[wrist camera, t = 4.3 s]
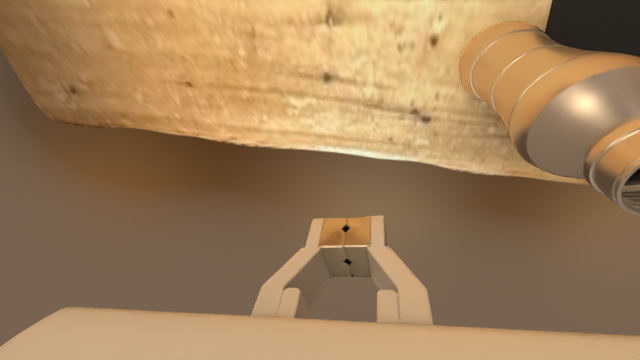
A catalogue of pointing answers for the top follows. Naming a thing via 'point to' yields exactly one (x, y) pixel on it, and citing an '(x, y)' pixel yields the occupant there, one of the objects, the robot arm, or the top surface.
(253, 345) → the robot arm
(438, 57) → the top surface
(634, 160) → the plastic bottle
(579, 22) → the mat
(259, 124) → the top surface
